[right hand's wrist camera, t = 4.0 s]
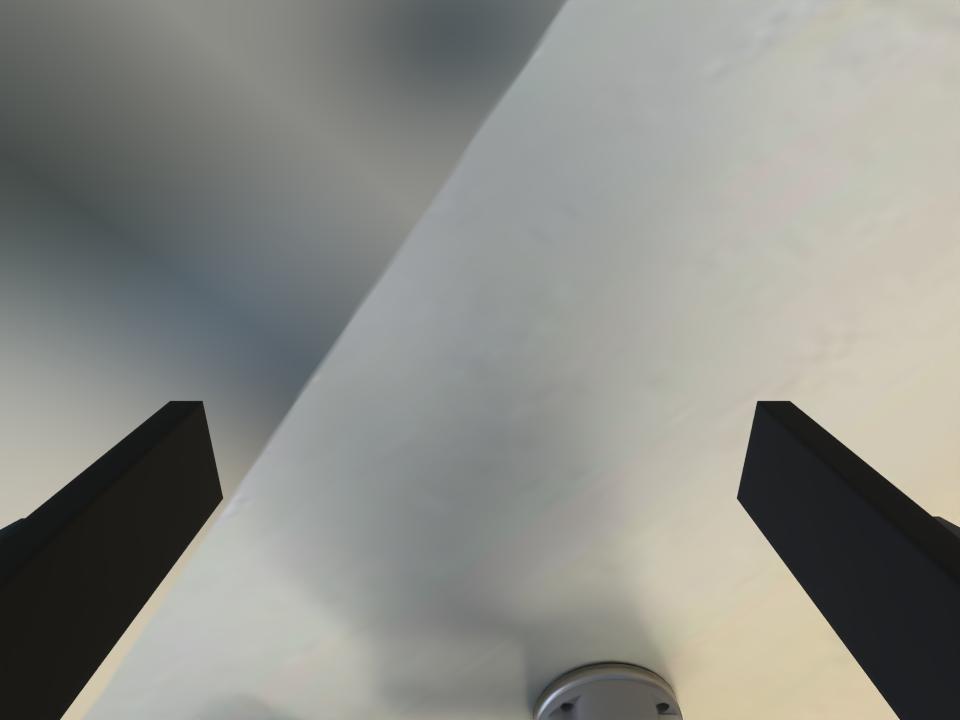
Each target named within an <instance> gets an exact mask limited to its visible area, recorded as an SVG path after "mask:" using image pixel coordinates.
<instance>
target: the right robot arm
mask: <svg viewBox="0 0 960 720" xmlns="http://www.w3.org/2000/svg"><path fill="white" fill-rule="evenodd" d="M222 499H223V496H222V491H221V486H220V481H219V477H218V472H217V467H216V462H215V458H214V453H213V448H212V443H211V439H210V434H209V429H208V424H207V420H206V415H205V410H204V406H203V401H170V402H168V403H167V404H166V405H165V406H163V407H162V408H161V409H160V410H159V411H157V412H156V413H155V414H154V415H152V416H151V417H150V418H149V419H147V420H146V421H145V422H144V423H142V424H141V425H140V426H139V427H138V428H136V429H135V430H134V431H133V432H131V433H130V434H129V435H128V436H126V437H125V438H124V439H123V440H121V441H120V442H119V443H118V444H117V445H115V446H114V447H113V448H112V449H110V450H109V451H108V452H107V453H105V454H104V455H103V456H102V457H101V458H99V459H98V460H97V461H96V462H94V463H93V464H92V465H91V466H89V467H88V468H87V469H86V470H84V471H83V472H82V473H81V474H80V475H78V476H77V477H76V478H75V479H73V480H72V481H71V482H70V483H68V484H67V485H66V486H65V487H64V488H62V489H61V490H60V491H59V492H57V493H56V494H55V495H54V496H52V497H51V498H50V499H49V500H48V501H46V502H45V503H44V504H42V505H41V506H40V507H39V508H38V509H36V510H35V511H34V512H33V513H31V514H30V515H29V516H28V517H26V518H21V519H19V520H18V521H16V522H14V523H12V524H10V525H8V526H6V527H5V528H3V529H1V530H0V720H60V719H61V718H62V716H63V715H64V714H65V712H66V711H67V709H68V708H69V707H70V705H71V704H72V703H73V701H74V700H75V699H76V697H77V696H78V694H79V693H80V692H81V690H82V689H83V688H84V686H85V685H86V684H87V682H88V681H89V680H90V678H91V677H92V676H93V674H94V673H95V671H96V670H97V669H98V667H99V666H100V665H101V663H102V662H103V661H104V659H105V658H106V657H107V655H108V654H109V653H110V651H111V650H112V648H113V647H114V646H115V644H116V643H117V642H118V640H119V639H120V638H121V636H122V635H123V634H124V632H125V631H126V629H127V628H128V627H129V625H130V624H131V623H132V621H133V620H134V619H135V617H136V616H137V615H138V613H139V612H140V610H141V609H142V608H143V606H144V605H145V604H146V602H147V601H148V600H149V598H150V597H151V596H152V594H153V593H154V591H155V590H156V589H157V587H158V586H159V585H160V583H161V582H162V581H163V579H164V578H165V577H166V575H167V574H168V572H169V571H170V570H171V568H172V567H173V566H174V564H175V563H176V562H177V560H178V559H179V558H180V556H181V555H182V553H183V552H184V551H185V549H186V548H187V547H188V545H189V544H190V543H191V541H192V540H193V539H194V537H195V536H196V534H197V533H198V532H199V530H200V529H201V528H202V526H203V525H204V524H205V522H206V521H207V519H208V518H209V517H210V516H211V514H212V513H213V511H214V510H215V509H216V507H217V506H218V505H219V503H220V502H221V501H222ZM737 499H738V501H739V502H740V503H741V505H742V506H743V507H744V509H745V510H746V511H747V513H748V514H749V516H750V517H751V518H752V520H753V521H754V522H755V524H756V525H757V526H758V528H759V529H760V530H761V532H762V533H763V535H764V536H765V537H766V539H767V540H768V541H769V543H770V544H771V545H772V547H773V548H774V549H775V551H776V552H777V554H778V555H779V556H780V558H781V559H782V560H783V562H784V563H785V564H786V566H787V567H788V568H789V570H790V571H791V572H792V574H793V575H794V577H795V578H796V579H797V581H798V582H799V583H800V585H801V586H802V587H803V589H804V590H805V591H806V593H807V594H808V596H809V597H810V598H811V600H812V601H813V602H814V604H815V605H816V606H817V608H818V609H819V610H820V612H821V613H822V615H823V616H824V617H825V619H826V620H827V621H828V623H829V624H830V625H831V627H832V628H833V629H834V631H835V632H836V634H837V635H838V636H839V638H840V639H841V640H842V642H843V643H844V644H845V646H846V647H847V648H848V650H849V651H850V653H851V654H852V655H853V657H854V658H855V659H856V661H857V662H858V663H859V665H860V666H861V667H862V669H863V670H864V672H865V673H866V674H867V676H868V677H869V678H870V680H871V681H872V682H873V684H874V685H875V686H876V688H877V689H878V690H879V692H880V693H881V695H882V696H883V697H884V699H885V700H886V701H887V703H888V704H889V705H890V707H891V708H892V709H893V711H894V712H895V714H896V715H897V716H898V718H899V719H900V720H960V527H958V526H956V525H954V524H952V523H950V522H949V521H947V520H945V519H943V518H941V517H932V516H931V515H930V514H929V513H927V512H926V511H925V510H924V509H922V508H921V507H920V506H919V505H918V504H916V503H915V502H914V501H913V500H911V499H910V498H909V497H908V496H906V495H905V494H904V493H903V492H901V491H900V490H899V489H898V488H897V487H895V486H894V485H893V484H892V483H890V482H889V481H888V480H887V479H885V478H884V477H883V476H882V475H880V474H879V473H878V472H877V471H876V470H874V469H873V468H872V467H871V466H869V465H868V464H867V463H866V462H864V461H863V460H862V459H861V458H860V457H858V456H857V455H856V454H855V453H853V452H852V451H851V450H850V449H848V448H847V447H846V446H845V445H843V444H842V443H841V442H840V441H839V440H837V439H836V438H835V437H834V436H832V435H831V434H830V433H829V432H827V431H826V430H825V429H824V428H822V427H821V426H820V425H819V424H818V423H816V422H815V421H814V420H813V419H811V418H810V417H809V416H808V415H806V414H805V413H804V412H803V411H801V410H800V409H799V408H798V407H797V406H795V405H794V404H793V403H792V402H790V401H757V405H756V410H755V415H754V420H753V424H752V429H751V434H750V439H749V443H748V448H747V453H746V458H745V462H744V467H743V472H742V476H741V481H740V486H739V491H738V495H737ZM534 720H683V718H682V714H681V711H680V708H679V705H678V703H677V700H676V697H675V695H674V693H673V691H672V689H671V688H670V687H669V685H668V684H667V683H666V682H665V681H664V680H663V679H661V678H660V677H659V676H657V675H655V674H654V673H652V672H650V671H647V670H645V669H642V668H639V667H636V666H631V665H625V664H598V665H592V666H587V667H583V668H580V669H577V670H574V671H572V672H570V673H567V674H566V675H564V676H562V677H560V678H559V679H557V680H556V681H554V682H553V683H552V684H551V685H549V686H548V687H547V688H546V689H545V691H544V692H543V693H542V694H541V696H540V697H539V699H538V701H537V703H536V706H535V710H534Z"/></svg>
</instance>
